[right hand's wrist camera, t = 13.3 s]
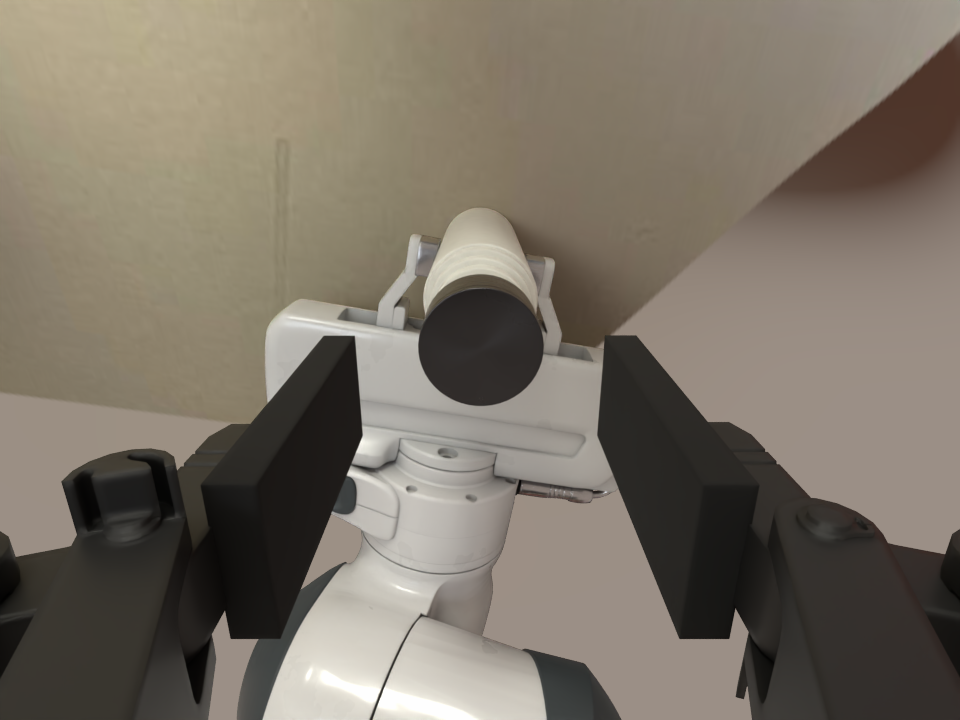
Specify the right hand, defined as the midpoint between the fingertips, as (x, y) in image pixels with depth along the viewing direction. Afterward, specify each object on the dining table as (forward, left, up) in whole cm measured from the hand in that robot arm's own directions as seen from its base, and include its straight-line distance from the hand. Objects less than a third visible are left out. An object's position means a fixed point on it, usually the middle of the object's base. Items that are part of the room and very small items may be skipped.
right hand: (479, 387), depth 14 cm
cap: (0, 0, -3) cm, 3 cm away
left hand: (0, +1, -16) cm, 16 cm away
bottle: (0, 0, -22) cm, 22 cm away
